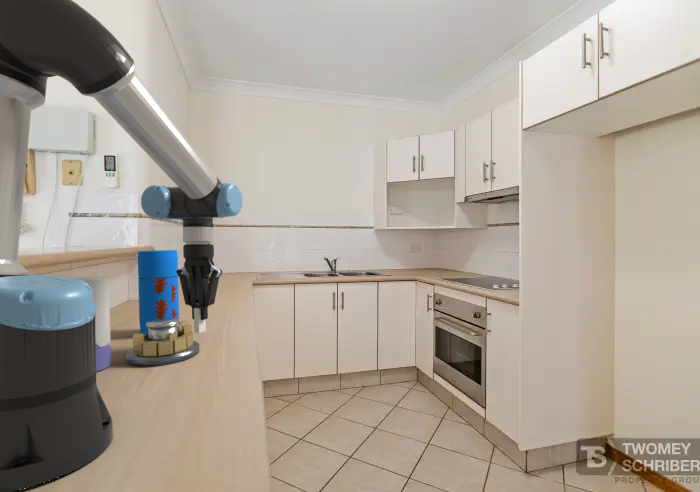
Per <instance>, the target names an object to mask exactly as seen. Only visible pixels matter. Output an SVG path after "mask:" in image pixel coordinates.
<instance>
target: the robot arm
mask: <svg viewBox="0 0 700 492" xmlns="http://www.w3.org/2000/svg"><path fill="white" fill-rule="evenodd" d="M135 65H136V62H135V61H134V59H133V58H132V56H131V55H130V54H129V53H128V51H127V50H126V49H125V48H124V46H123V45H122V43H121V42H120V41H119V40H118V39H117V38H116V37H115V35H114V34H113V33H112V32H111V31H109V29H107V27H105V25H103V23H102V22H100V21H99V20H98V19H97V18H95V17H94V16H93V15H92V14H91V13H90V12H88V11H87V10H86V9H84V8H83V7H82V6H80V5H79V3H77V2H75V1H73V0H0V492H14V491H15V492H18V491H17V490H19V491H23V490H25V489H24V488H27V489H29V488H28V487H31V488H34V487H36V486H35V485H38V484H41V483H44V482H47V481H49V480H52V479H54V478H57V477H60V476H62V475H64V476H66V475H68V473H69V474H71V473H73V472H75V471H77V470H78V469H81V468H82V467H84V466H86V465H87V464H89V463H91V462H92V461H93V460H95V459H97V457H99V456H100V455H101V454H103V453H104V452H105V451H106V450H107V449H108V448H109V446H110V445H111V443H112V442H113V438H114V428H113V427H114V426H113V425H114V422H113V419H112V416H111V414H110V412H109V410H108V407H107V406H106V403H105V401H104V399H103V397H102V395H101V393H100V390H99V388H98V385H97V384H98V383H97V372H96V336H95V315H96V314H95V313H96V307H95V304H94V298H93V291H92V288H91V287H90V285H89V284H88V283H86V282H84V281H82V280H80V279H76V278H77V277H72V276H71V277H70V276H65V275H64V276H63V275H62V276H61V275H41V274H30V272H29V271H28V270H27V269H26V268H25V267H24V266H23V265H21V263H19V261H18V260H19V259H18V257H19V249H20V248H19V247H20V235H21V226H22V224H21V223H22V214H23V203H24V193H25V192H24V191H25V181H26V180H25V179H26V171H27V160H28V159H27V158H28V148H29V138H30V127H31V126H30V125H31V115H32V111H33V110H35V109H38V108H40V107H42V106H44V105H45V103H46V93H47V83H48V79H49V78H53V77H57V76H58V77H60V78H62V79H64V80H65V81H67V82H68V83H70V84H71V85H72V86H73V87H74V88H75V89H76V90H77V91H78V92H79V93H80V95H82V96H85V97H90V98H94V99H95V100H96V101H97V102H98V104H99V105H101V107H102V108H103V109H104V110H105V111H106V112H107V113H108V114H109V115H110V116H111V118H113V120H114V121H116V122H117V124H118V125H119V126H120V127H121V128H122V129H123V130H124V131H125V132H126V134H128V135H129V136H130V138H131V139H132V140H134V142H136V144H137V145H138V146H139V147H140V148H141V149H142V150H143V151H144V152H145V154H147V155H148V156H149V158H150V159H151V160H153V162H154V163H155V164H156V165H157V166H158V167H159V168H160V169H161V170H162V171H163V173H164V174H165V175H166V176H167V177H169V179H170V180H171V181H172V182H173V183H174V184H175V185H176V186H165V185H158V184H157V185H156V184H155V185H150V186H148V187H147V188H145V189H144V191H143V192H142V194H141V195H140V196H141V197H140V205H141V209H142V211H143V212H144V214H145V215H146V216H148V217H150V218H155V219H158V220H176V221H177V220H179V221H180V220H181V221H182V242H183V243H185V244H183V246H182V247H183V248H182V251H183V253H182V254H183V255H182V256H183V259H185V261H184V263H183V267H181V268H180V269H179V268H178V270H177V271H176V273H177V276H178V279H179V281H180V286H181V291H182V295H183V301H184V305H186V306H189V307H191V318H192V320H193V324H194V326H193V327H194V328H193V329H194V330H193V331H194V333H193V334H195V333H196V334H200V333H203V332H206V331H207V319H209V315H208V313H209V312H208V311H209V307H210V306H212V305H214V304H215V303H216V302H215V301H216V297H217V292H218V287H219V281H220V277H221V276H222V274H223V270H222V269H221V268H220V269H218V268H217V267H216V266H215V263H214V257H215V248H214V247H215V246H214V245H213V242H214V241H215V240H214V239H215V238H214V219H218V218H219V219H223V218H229V217H230V218H231V217H236V216H238V215H239V213H240V212H241V210H242V207H243V202H244V199H243V194H242V192H241V189H240V188H239V186H237V185H236V184H233V183H228V182H224V183H223V182H222V181H221V180H220V179H219V178H218V177H217V176H216V174H215V173H214V171H213V170H212V169H211V168H210V166H209V164H207V163H206V161H205V160H204V159H203V157H202V156H201V155H200V154H199V152H198V151H197V150H196V148H194V146H193V145H192V143H191V142H190V141H189V139H187V137H186V136H185V134H184V133H183V131H181V129H180V128H179V127H178V126H177V125H176V123H175V122H174V120H173V119H172V118H171V117H170V115H169V114H168V113H167V111H166V110H165V108H163V107H162V105H161V104H160V103H159V101H158V100H157V98H155V97H154V95H153V94H152V92H151V91H150V90H149V89H148V87H147V85H145V84H144V82H143V80H141V78H140V77H139V76H138V75H137V73H136V72H135V69H136V67H135ZM76 469H77V470H76ZM74 470H75V471H74ZM72 471H73V472H72ZM70 472H71V473H70ZM65 474H66V475H65ZM62 477H63V476H62ZM60 478H61V477H60ZM57 479H58V478H57ZM52 481H53V480H52ZM49 482H50V481H49ZM47 483H48V482H47ZM44 484H45V483H44ZM41 485H42V484H41ZM33 486H34V487H33ZM38 486H39V485H38ZM20 489H21V490H20ZM22 489H23V490H22Z"/></svg>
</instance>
